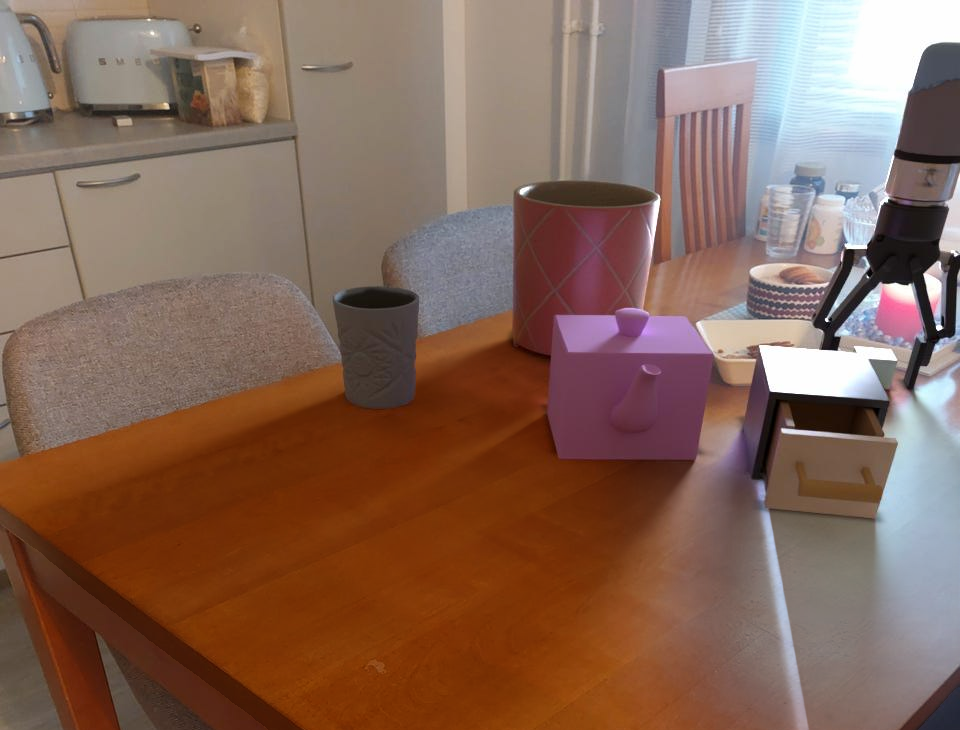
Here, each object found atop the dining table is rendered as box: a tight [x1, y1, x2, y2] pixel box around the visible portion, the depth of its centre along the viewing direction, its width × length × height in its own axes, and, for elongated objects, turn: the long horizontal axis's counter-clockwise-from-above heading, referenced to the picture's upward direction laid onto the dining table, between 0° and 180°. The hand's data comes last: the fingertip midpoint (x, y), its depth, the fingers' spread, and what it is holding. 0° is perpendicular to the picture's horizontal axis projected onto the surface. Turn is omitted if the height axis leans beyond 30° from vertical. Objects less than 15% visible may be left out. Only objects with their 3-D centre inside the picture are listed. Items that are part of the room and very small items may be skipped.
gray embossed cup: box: [332, 285, 420, 410], centre depth 111 cm, size 10×10×12 cm
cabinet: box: [742, 345, 891, 481], centre depth 100 cm, size 15×12×10 cm
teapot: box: [546, 308, 715, 461], centre depth 101 cm, size 15×25×14 cm, turn 2°
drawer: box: [763, 399, 899, 519], centre depth 90 cm, size 19×10×8 cm, turn 170°
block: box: [852, 346, 899, 390], centre depth 119 cm, size 5×5×5 cm
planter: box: [511, 179, 661, 357], centre depth 126 cm, size 19×19×20 cm
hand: (865, 386), depth 121 cm, fingers open, 10 cm apart
